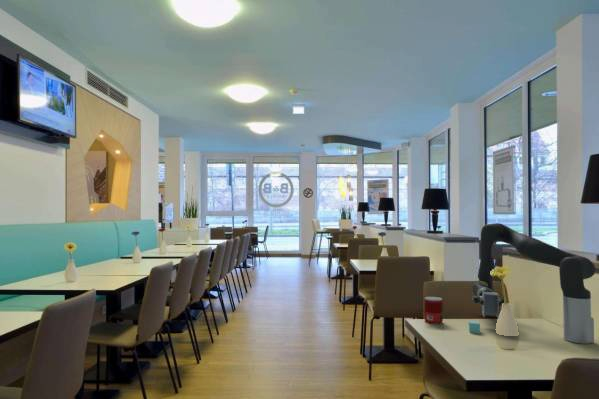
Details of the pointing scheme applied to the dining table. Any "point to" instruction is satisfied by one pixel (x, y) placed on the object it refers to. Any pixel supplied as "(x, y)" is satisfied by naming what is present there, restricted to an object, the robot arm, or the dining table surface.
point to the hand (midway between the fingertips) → (491, 303)
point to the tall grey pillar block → (490, 303)
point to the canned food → (433, 309)
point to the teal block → (474, 327)
